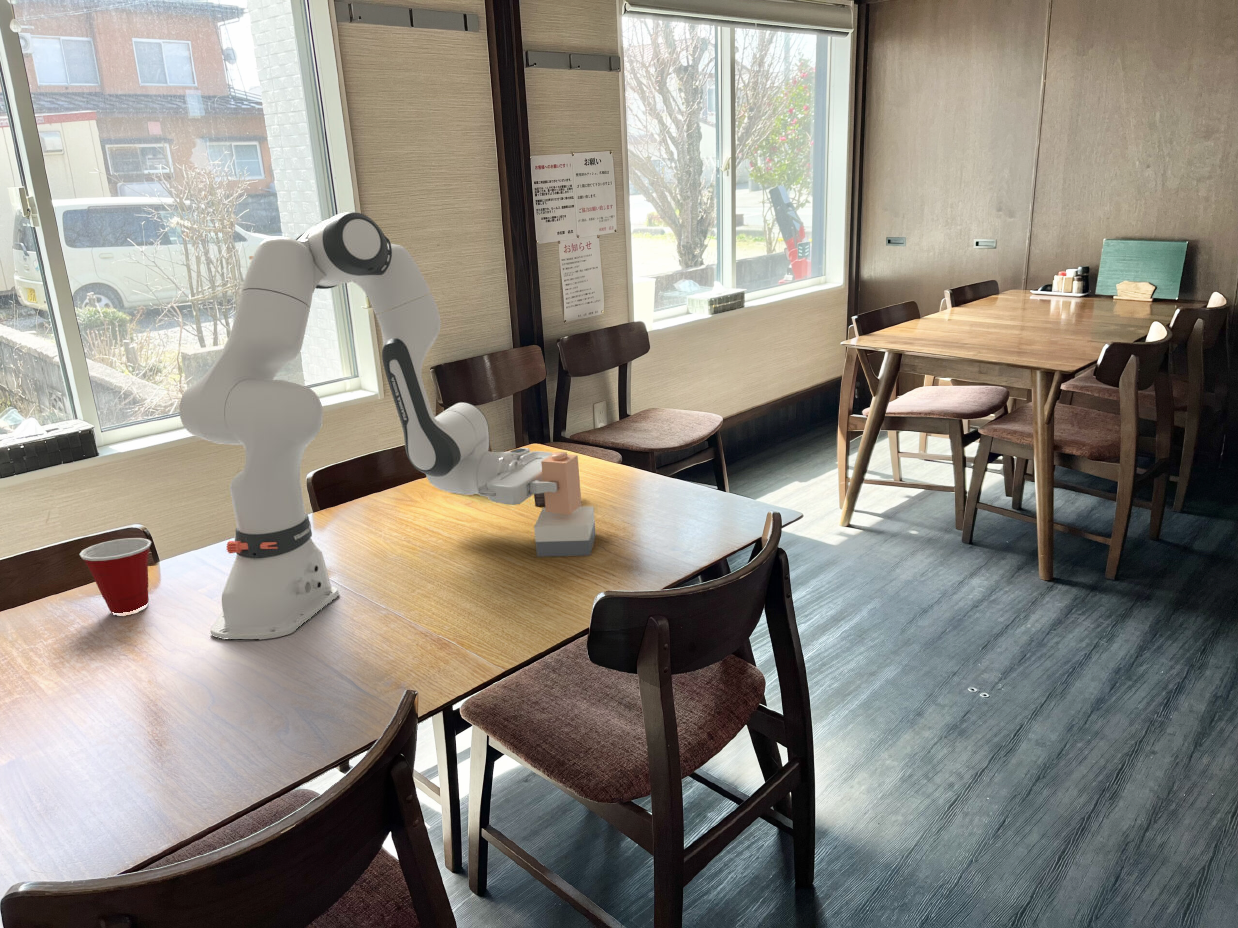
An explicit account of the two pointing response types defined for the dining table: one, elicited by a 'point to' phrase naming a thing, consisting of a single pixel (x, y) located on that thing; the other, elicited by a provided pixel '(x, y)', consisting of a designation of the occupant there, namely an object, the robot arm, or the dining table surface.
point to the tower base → (566, 547)
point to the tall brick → (562, 482)
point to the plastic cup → (120, 572)
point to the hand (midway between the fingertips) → (565, 481)
